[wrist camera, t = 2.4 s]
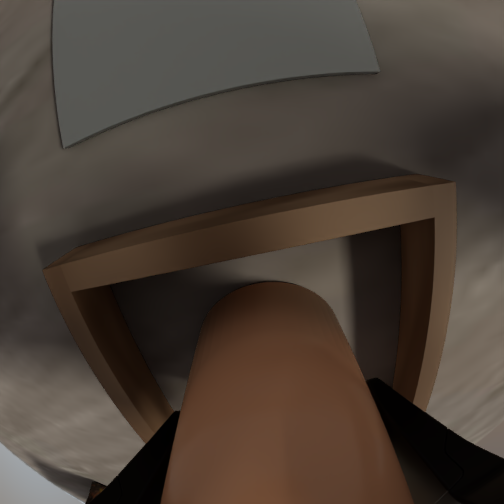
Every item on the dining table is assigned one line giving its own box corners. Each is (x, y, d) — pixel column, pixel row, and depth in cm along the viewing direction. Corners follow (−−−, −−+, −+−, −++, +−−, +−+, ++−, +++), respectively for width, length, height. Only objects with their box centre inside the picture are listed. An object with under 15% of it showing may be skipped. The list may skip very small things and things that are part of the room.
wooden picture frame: (416, 173, 9) (455, 182, 7) (401, 410, 14) (414, 439, 12) (76, 247, 10) (42, 270, 8) (184, 448, 15) (179, 479, 12)
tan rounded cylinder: (333, 267, 11) (461, 489, 2) (341, 402, 13) (383, 550, 5) (180, 297, 11) (94, 524, 2) (231, 421, 14) (224, 572, 5)
